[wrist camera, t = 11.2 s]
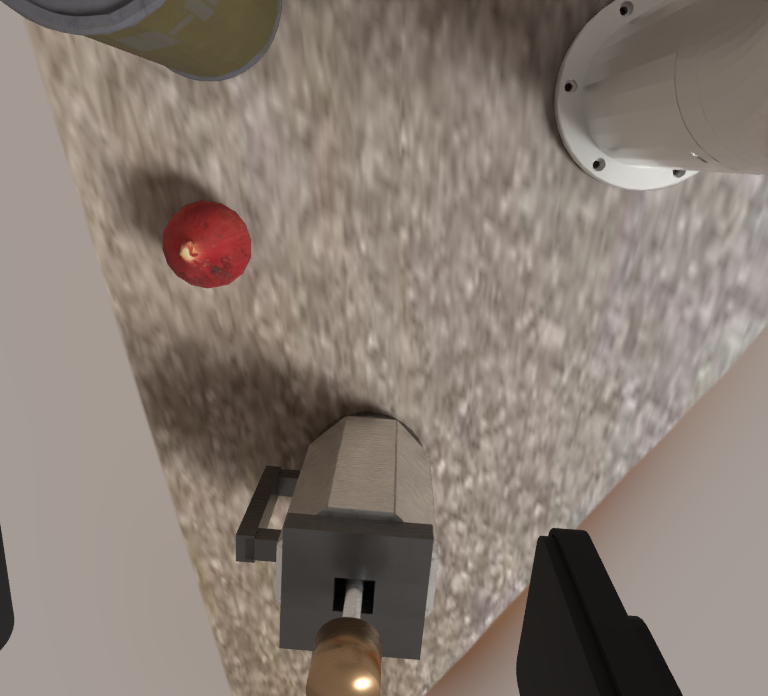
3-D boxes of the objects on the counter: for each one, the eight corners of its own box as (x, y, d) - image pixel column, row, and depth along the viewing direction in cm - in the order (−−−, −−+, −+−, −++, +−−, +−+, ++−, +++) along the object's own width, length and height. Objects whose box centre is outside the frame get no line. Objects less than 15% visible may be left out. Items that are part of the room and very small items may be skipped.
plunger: (411, 449, 47) (417, 643, 28) (404, 522, 49) (405, 749, 30) (326, 442, 47) (276, 632, 28) (322, 515, 49) (273, 738, 30)
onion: (277, 246, 45) (252, 265, 37) (220, 291, 46) (183, 318, 39) (227, 181, 44) (189, 187, 36) (168, 229, 45) (120, 244, 37)
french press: (432, 417, 49) (445, 531, 34) (421, 521, 52) (428, 668, 37) (274, 404, 49) (219, 513, 34) (272, 509, 52) (221, 651, 37)
